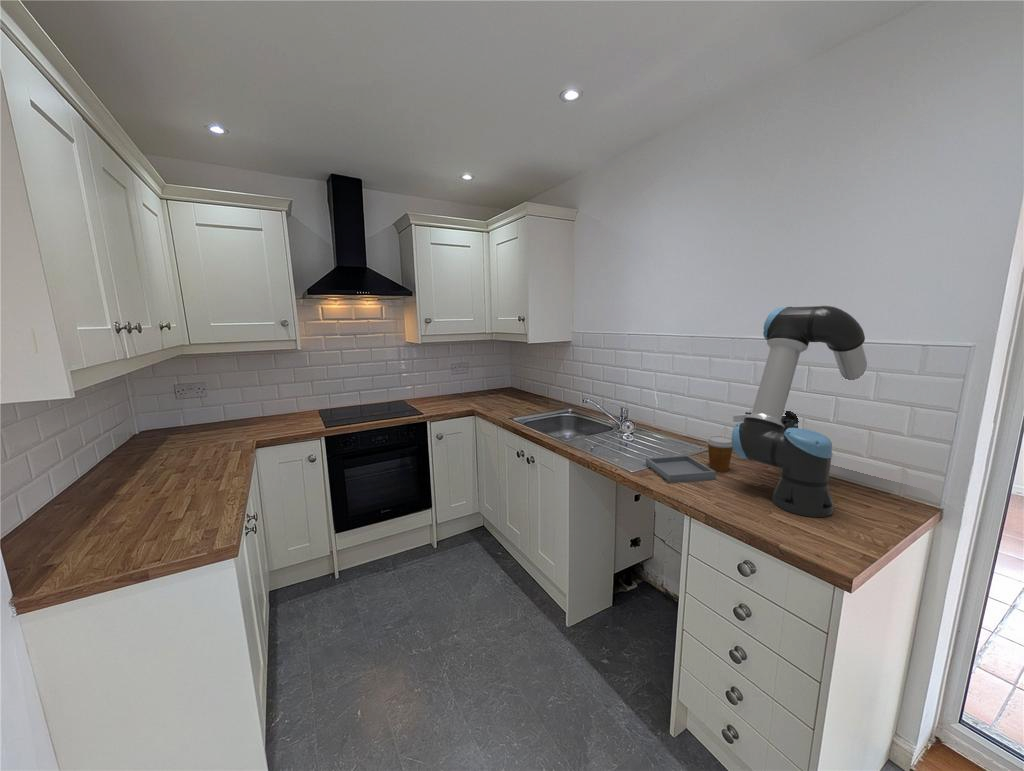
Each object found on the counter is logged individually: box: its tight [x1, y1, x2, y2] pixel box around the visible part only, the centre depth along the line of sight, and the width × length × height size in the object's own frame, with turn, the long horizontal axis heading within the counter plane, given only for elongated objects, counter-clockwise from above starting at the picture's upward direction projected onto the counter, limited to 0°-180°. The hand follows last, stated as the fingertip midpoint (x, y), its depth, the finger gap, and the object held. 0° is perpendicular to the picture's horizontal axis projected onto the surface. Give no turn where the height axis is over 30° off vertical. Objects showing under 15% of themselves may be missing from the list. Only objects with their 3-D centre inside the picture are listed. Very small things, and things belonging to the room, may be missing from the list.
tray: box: [645, 454, 717, 484], centre depth 152 cm, size 18×18×3 cm
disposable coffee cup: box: [706, 435, 734, 473], centre depth 153 cm, size 10×10×12 cm
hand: (745, 422), depth 152 cm, fingers open, 13 cm apart
